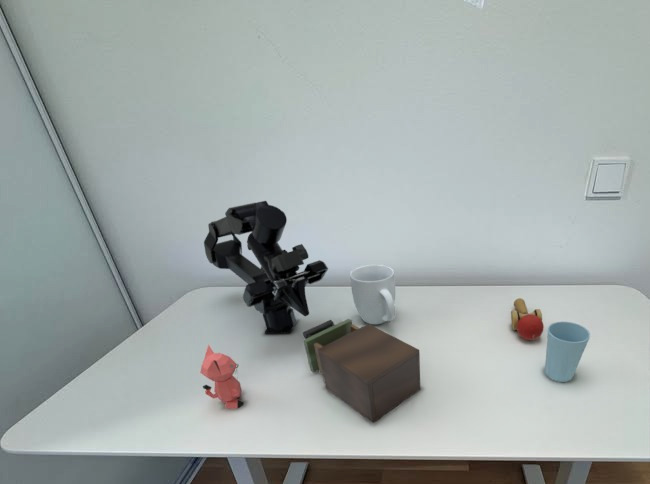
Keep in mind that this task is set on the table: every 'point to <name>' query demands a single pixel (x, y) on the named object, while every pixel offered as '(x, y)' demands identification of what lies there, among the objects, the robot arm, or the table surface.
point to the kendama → (526, 321)
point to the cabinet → (371, 370)
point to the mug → (374, 292)
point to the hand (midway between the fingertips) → (307, 315)
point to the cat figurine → (222, 378)
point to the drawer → (324, 339)
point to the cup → (564, 349)
